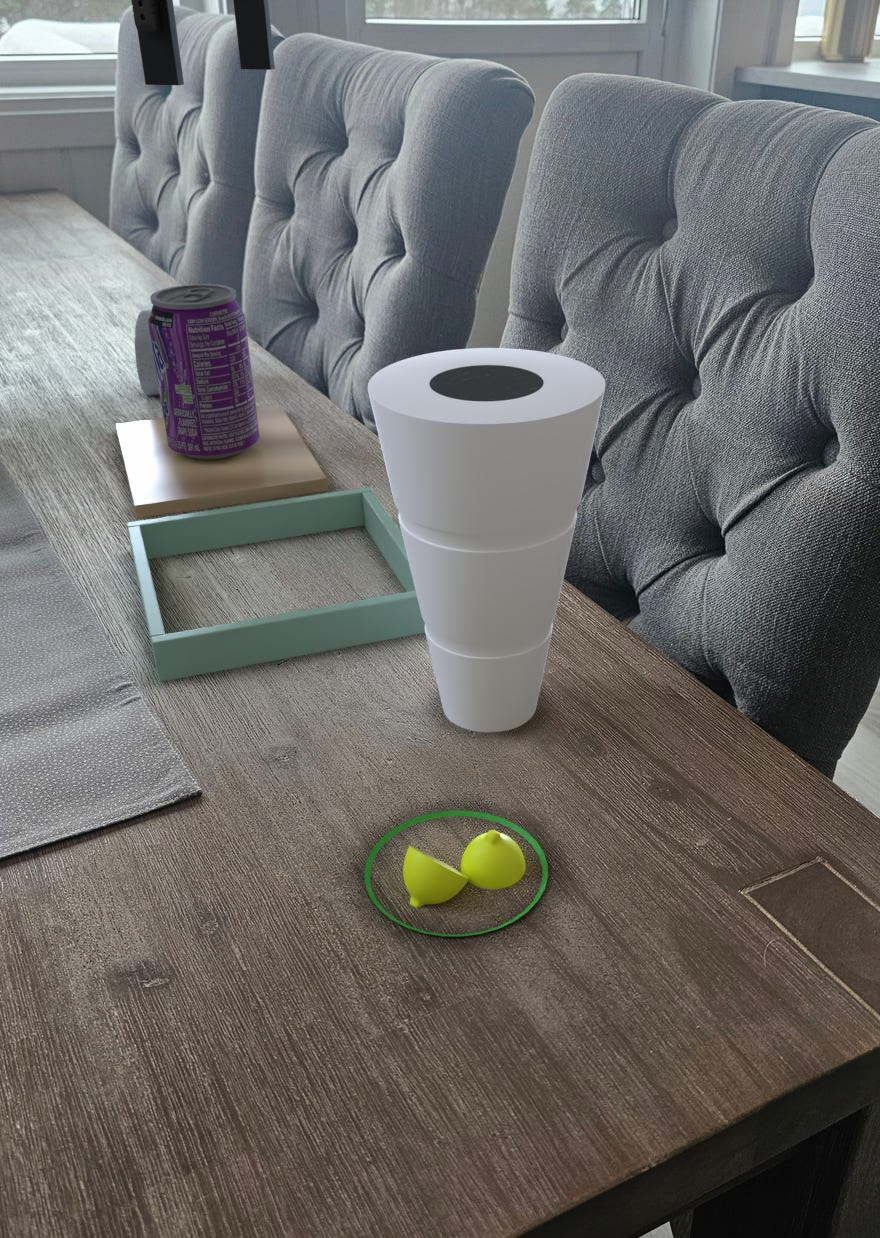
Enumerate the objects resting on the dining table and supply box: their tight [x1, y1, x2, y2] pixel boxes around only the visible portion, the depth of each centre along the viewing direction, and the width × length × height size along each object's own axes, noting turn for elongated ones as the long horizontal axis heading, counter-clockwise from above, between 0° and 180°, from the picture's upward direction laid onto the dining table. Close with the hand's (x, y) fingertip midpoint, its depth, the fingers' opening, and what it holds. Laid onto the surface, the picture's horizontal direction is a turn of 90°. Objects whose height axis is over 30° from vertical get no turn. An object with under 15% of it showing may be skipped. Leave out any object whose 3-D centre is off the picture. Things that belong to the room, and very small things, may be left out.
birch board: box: [114, 403, 329, 520], centre depth 89 cm, size 18×14×2 cm
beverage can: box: [148, 283, 260, 460], centre depth 86 cm, size 7×7×12 cm
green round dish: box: [363, 810, 549, 937], centre depth 48 cm, size 8×8×3 cm
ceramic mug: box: [134, 308, 160, 397], centre depth 104 cm, size 11×8×8 cm
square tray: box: [126, 486, 426, 683], centre depth 70 cm, size 17×17×3 cm
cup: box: [367, 347, 606, 733], centre depth 55 cm, size 11×11×18 cm
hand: (214, 77), depth 86 cm, fingers open, 13 cm apart
